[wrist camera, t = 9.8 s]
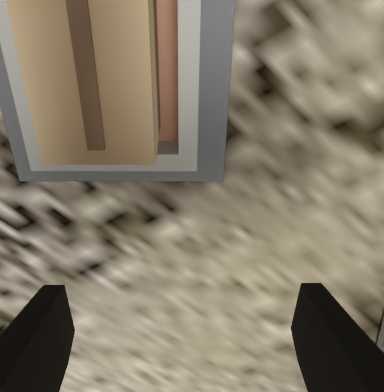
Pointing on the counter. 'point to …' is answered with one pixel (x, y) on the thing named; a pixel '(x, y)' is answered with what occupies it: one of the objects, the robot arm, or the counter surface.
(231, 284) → the counter surface
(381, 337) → the coffee box
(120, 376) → the counter surface
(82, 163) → the maple block
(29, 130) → the board
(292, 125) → the counter surface
